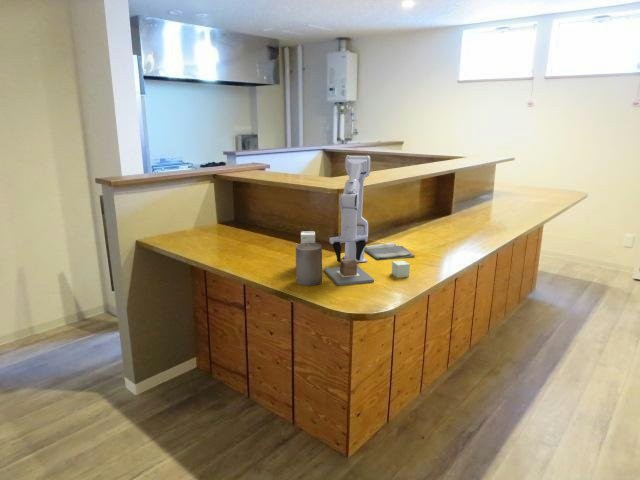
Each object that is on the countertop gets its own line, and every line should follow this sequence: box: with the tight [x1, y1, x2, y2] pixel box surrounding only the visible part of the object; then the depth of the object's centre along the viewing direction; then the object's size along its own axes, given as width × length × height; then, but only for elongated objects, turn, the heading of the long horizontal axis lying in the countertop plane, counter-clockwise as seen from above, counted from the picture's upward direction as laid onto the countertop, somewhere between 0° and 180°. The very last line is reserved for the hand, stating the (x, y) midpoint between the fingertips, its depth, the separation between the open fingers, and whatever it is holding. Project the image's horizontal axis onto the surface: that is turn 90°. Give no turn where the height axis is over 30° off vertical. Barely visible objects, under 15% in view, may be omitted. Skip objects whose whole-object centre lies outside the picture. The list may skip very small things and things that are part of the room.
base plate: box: [323, 265, 375, 286], centre depth 173 cm, size 18×14×1 cm
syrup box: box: [300, 230, 316, 244], centre depth 182 cm, size 6×6×14 cm
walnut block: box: [339, 258, 358, 276], centre depth 172 cm, size 5×5×5 cm
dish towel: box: [364, 241, 416, 261], centre depth 203 cm, size 19×18×3 cm
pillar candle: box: [295, 242, 323, 287], centre depth 165 cm, size 10×10×15 cm
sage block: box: [391, 260, 411, 279], centre depth 174 cm, size 5×5×5 cm
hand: (348, 260), depth 172 cm, fingers open, 7 cm apart
